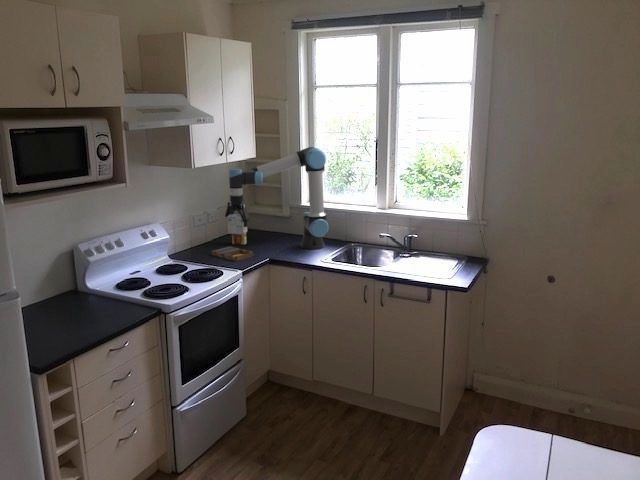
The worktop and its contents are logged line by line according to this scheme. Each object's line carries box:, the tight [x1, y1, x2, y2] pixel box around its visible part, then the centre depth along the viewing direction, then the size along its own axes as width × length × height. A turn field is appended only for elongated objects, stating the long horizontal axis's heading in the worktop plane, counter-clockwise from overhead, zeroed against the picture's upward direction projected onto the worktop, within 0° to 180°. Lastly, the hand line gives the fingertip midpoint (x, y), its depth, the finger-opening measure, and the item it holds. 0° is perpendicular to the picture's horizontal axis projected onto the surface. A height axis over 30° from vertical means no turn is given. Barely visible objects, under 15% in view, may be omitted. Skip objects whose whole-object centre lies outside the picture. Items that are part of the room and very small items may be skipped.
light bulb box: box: [226, 213, 247, 235], centre depth 333 cm, size 11×7×11 cm, turn 84°
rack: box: [210, 245, 256, 262], centre depth 341 cm, size 23×16×2 cm
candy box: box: [231, 232, 247, 245], centre depth 368 cm, size 9×4×15 cm, turn 77°
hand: (237, 230), depth 334 cm, fingers closed on light bulb box, 12 cm apart
